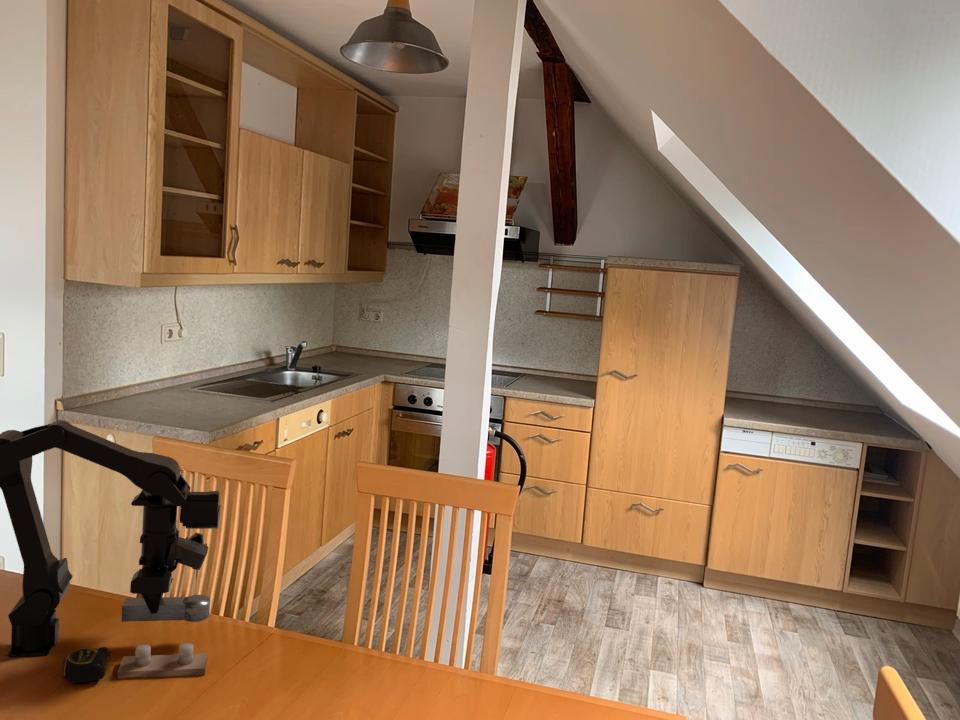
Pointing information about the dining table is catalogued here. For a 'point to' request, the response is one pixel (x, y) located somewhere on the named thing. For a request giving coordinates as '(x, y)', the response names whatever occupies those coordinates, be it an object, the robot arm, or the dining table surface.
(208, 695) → the dining table surface
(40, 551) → the robot arm
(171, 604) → the grey bar with knob
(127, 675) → the peg stand
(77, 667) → the tape measure
